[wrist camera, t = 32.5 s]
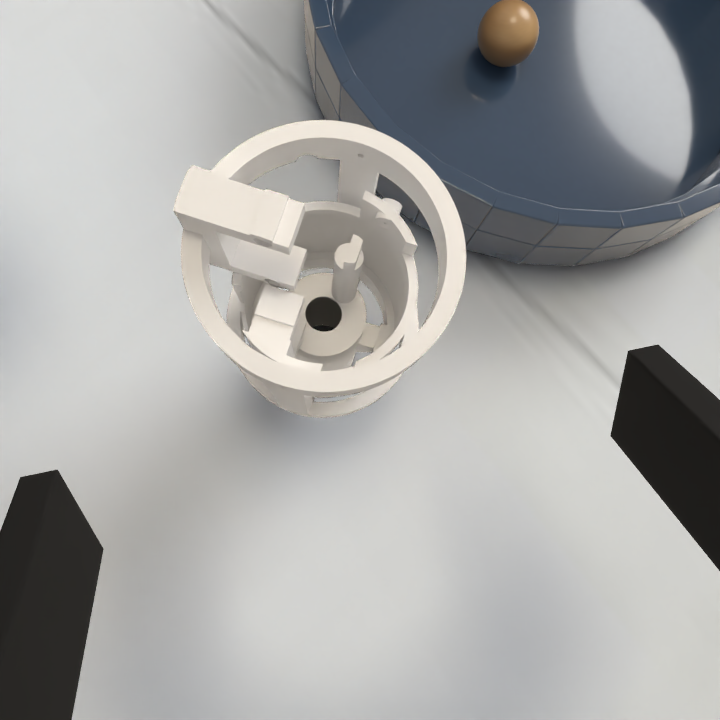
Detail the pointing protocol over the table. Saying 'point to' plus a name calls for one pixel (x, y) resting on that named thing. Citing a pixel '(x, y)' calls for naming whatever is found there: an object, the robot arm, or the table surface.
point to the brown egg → (508, 33)
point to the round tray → (537, 116)
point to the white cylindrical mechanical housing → (318, 265)
